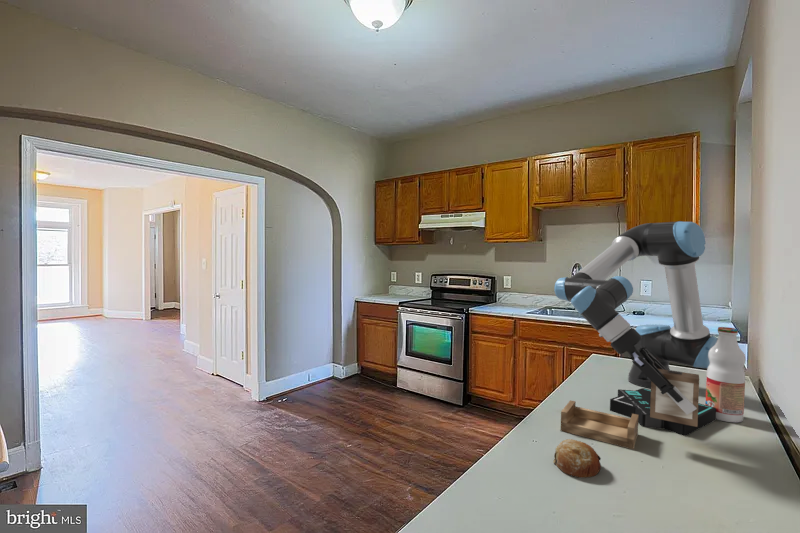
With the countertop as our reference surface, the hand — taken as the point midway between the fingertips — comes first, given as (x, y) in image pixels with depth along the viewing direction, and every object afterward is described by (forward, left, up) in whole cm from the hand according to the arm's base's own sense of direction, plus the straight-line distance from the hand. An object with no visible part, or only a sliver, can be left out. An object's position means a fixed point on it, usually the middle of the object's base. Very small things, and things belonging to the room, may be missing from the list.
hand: (691, 407), depth 102 cm
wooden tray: (+19, -9, -12) cm, 24 cm away
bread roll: (+31, +10, -12) cm, 35 cm away
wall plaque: (-6, -25, -12) cm, 29 cm away
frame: (+3, -2, -4) cm, 5 cm away
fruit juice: (-25, -26, -12) cm, 39 cm away
